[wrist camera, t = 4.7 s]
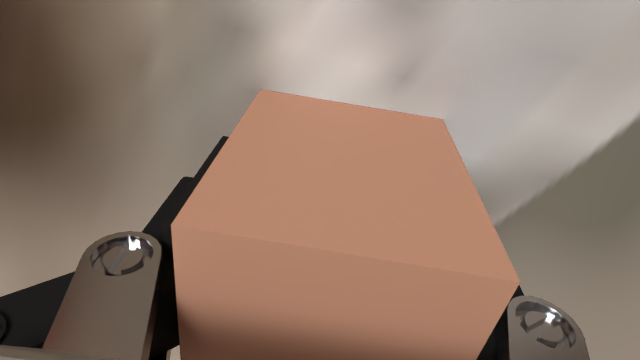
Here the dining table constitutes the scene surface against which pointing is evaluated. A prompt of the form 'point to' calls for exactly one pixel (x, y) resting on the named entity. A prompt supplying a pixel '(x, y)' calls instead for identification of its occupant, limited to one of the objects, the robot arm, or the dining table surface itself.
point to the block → (337, 241)
